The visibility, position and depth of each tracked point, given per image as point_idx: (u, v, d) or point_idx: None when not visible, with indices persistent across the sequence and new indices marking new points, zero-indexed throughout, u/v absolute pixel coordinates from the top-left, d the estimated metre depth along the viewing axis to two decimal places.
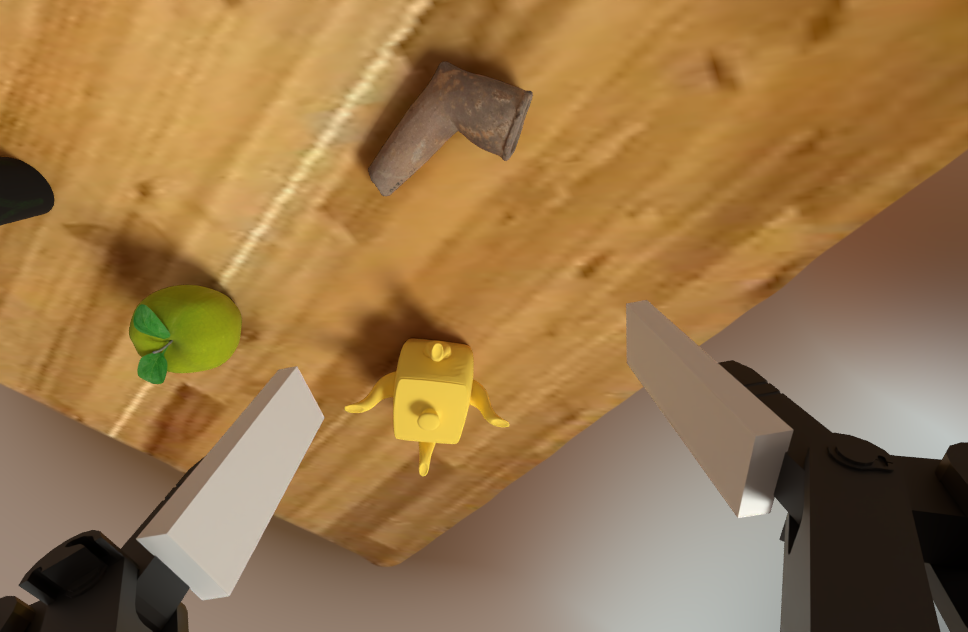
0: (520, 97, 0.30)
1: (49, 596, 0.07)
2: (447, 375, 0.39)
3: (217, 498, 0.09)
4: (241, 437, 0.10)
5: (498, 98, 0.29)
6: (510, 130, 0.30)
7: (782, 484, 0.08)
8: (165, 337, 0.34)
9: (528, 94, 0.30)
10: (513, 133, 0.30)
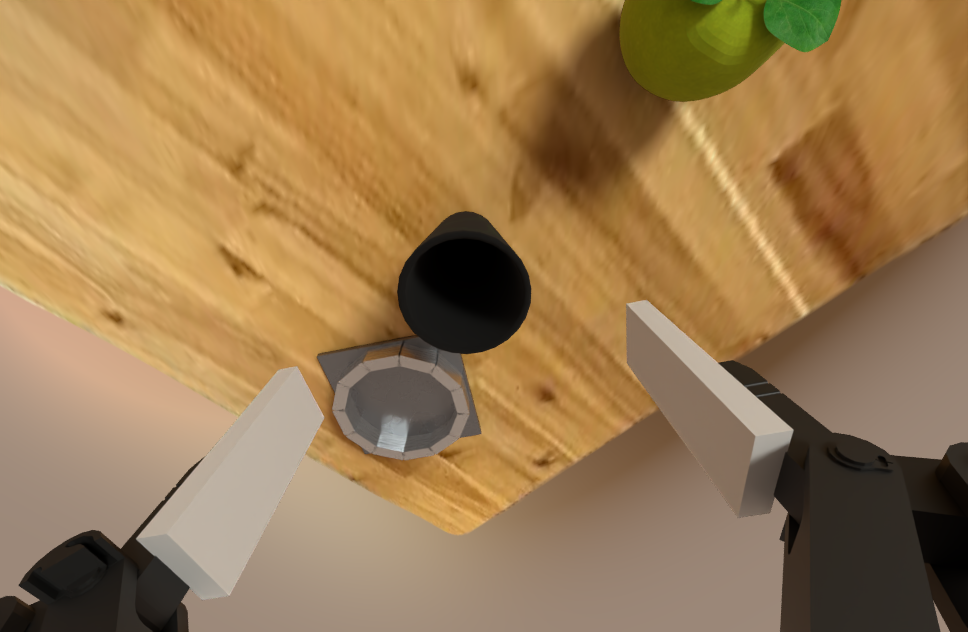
0: None
1: (49, 596, 0.07)
2: None
3: (217, 498, 0.09)
4: (241, 437, 0.10)
5: None
6: None
7: (782, 484, 0.08)
8: None
9: None
10: None
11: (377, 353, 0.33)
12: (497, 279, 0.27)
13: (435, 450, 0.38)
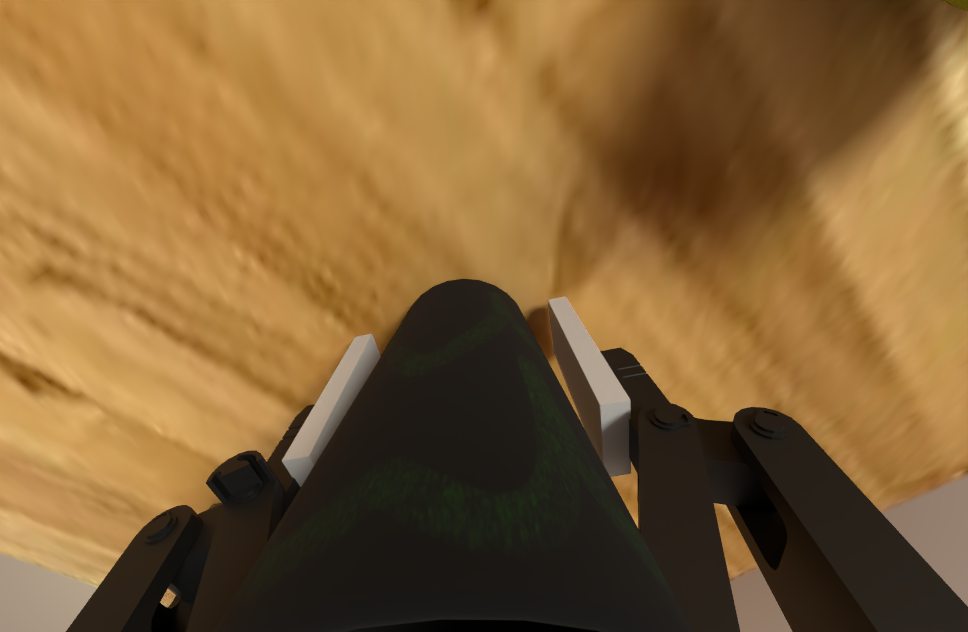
0: None
1: (224, 497, 0.08)
2: None
3: None
4: (344, 387, 0.12)
5: None
6: None
7: (631, 447, 0.09)
8: None
9: None
10: None
11: None
12: None
13: None
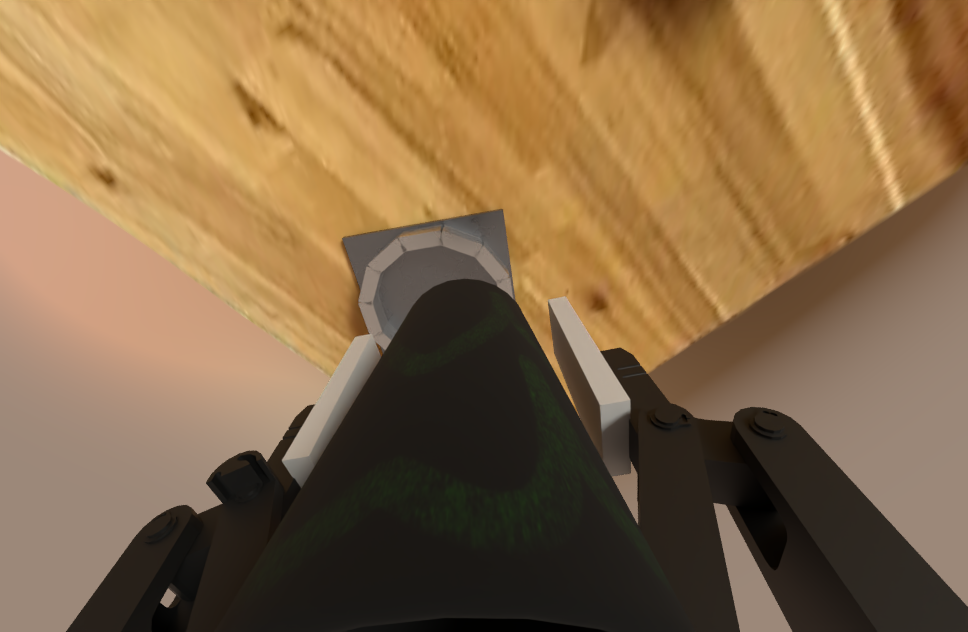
0: None
1: (224, 497, 0.08)
2: None
3: None
4: (344, 387, 0.12)
5: None
6: None
7: (630, 447, 0.09)
8: None
9: None
10: None
11: (414, 232, 0.29)
12: None
13: None
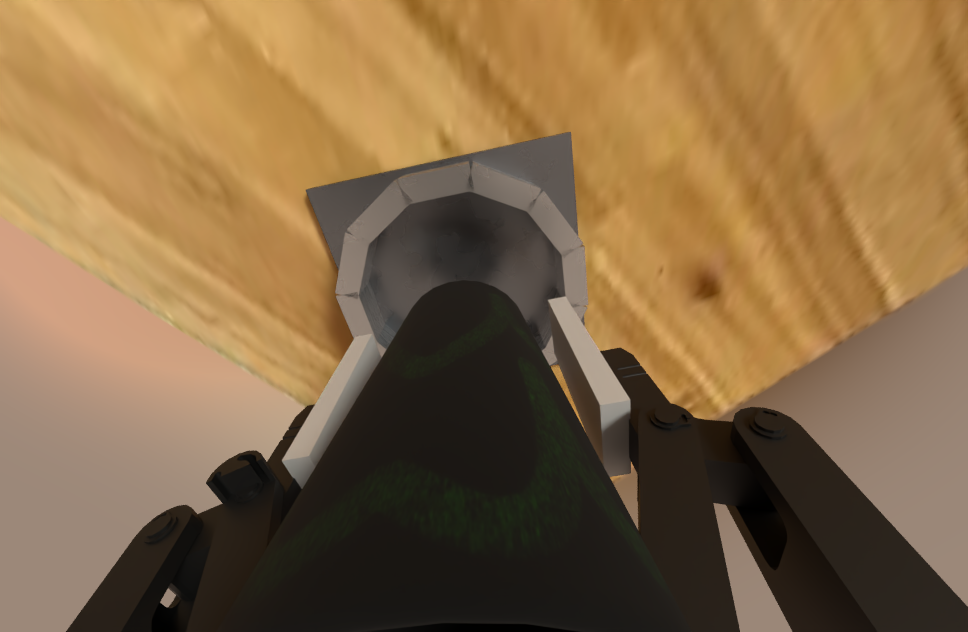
0: None
1: (224, 497, 0.08)
2: None
3: (334, 435, 0.10)
4: (344, 387, 0.12)
5: None
6: None
7: (631, 447, 0.09)
8: None
9: None
10: None
11: (424, 171, 0.17)
12: None
13: None
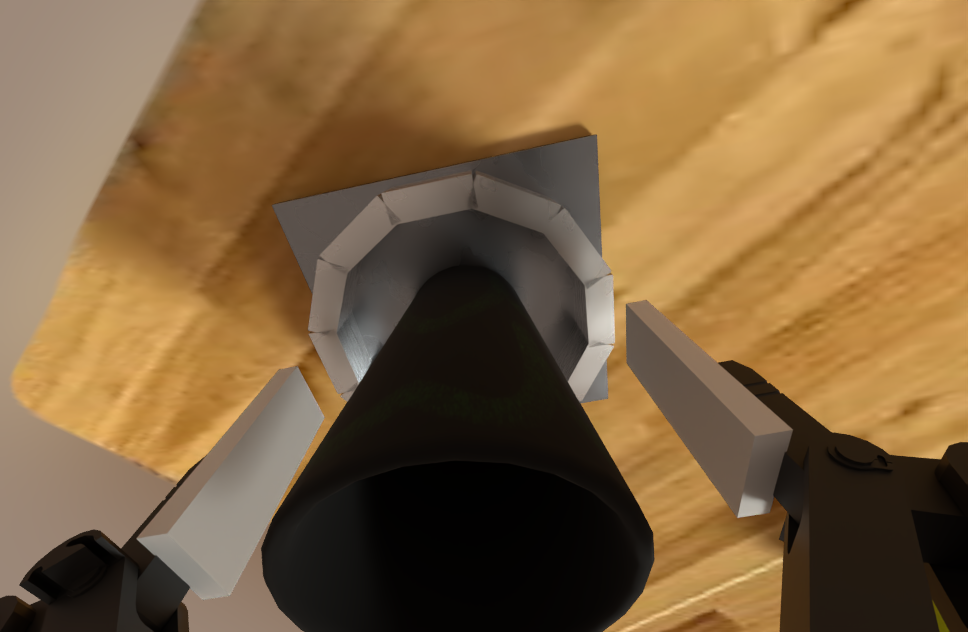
0: None
1: (49, 595, 0.07)
2: None
3: (217, 498, 0.09)
4: (241, 437, 0.10)
5: None
6: None
7: (782, 484, 0.08)
8: None
9: None
10: None
11: None
12: None
13: None
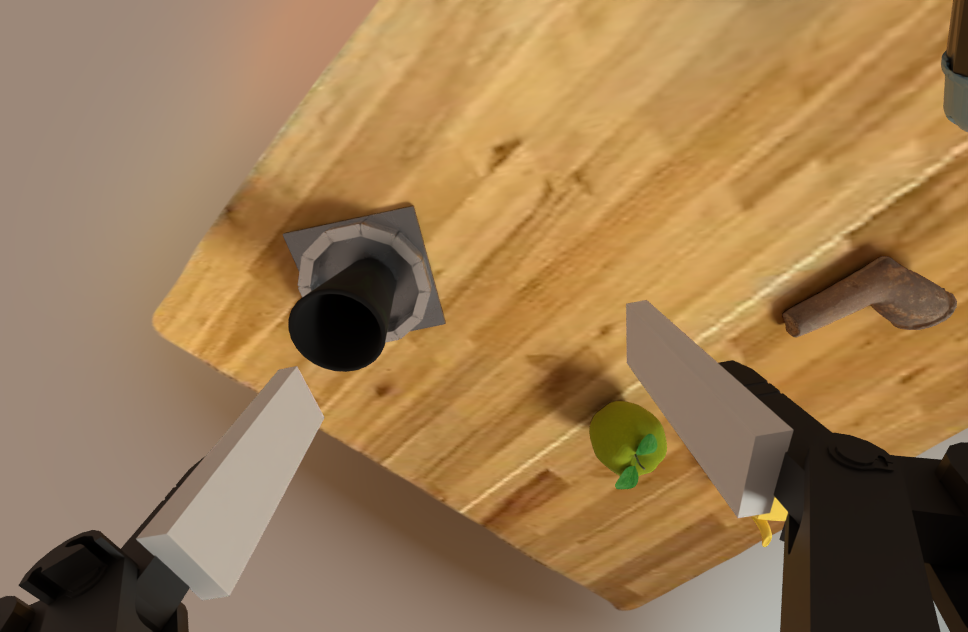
0: (948, 296, 0.40)
1: (49, 596, 0.07)
2: None
3: (217, 498, 0.09)
4: (241, 437, 0.10)
5: (939, 297, 0.40)
6: (939, 320, 0.40)
7: (782, 485, 0.08)
8: (644, 454, 0.43)
9: (953, 295, 0.40)
10: None
11: (425, 269, 0.38)
12: None
13: None
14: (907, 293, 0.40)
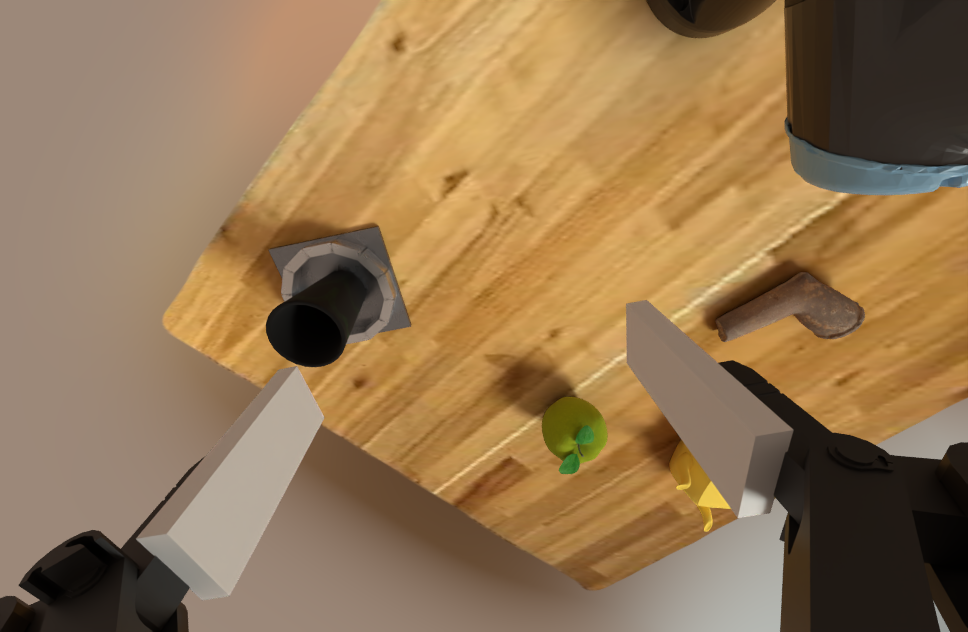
0: (858, 310, 0.45)
1: (49, 596, 0.07)
2: None
3: (217, 498, 0.09)
4: (241, 437, 0.10)
5: (848, 310, 0.44)
6: (849, 331, 0.45)
7: (782, 484, 0.08)
8: (584, 443, 0.48)
9: (863, 309, 0.45)
10: None
11: (390, 279, 0.44)
12: None
13: None
14: (820, 306, 0.45)
